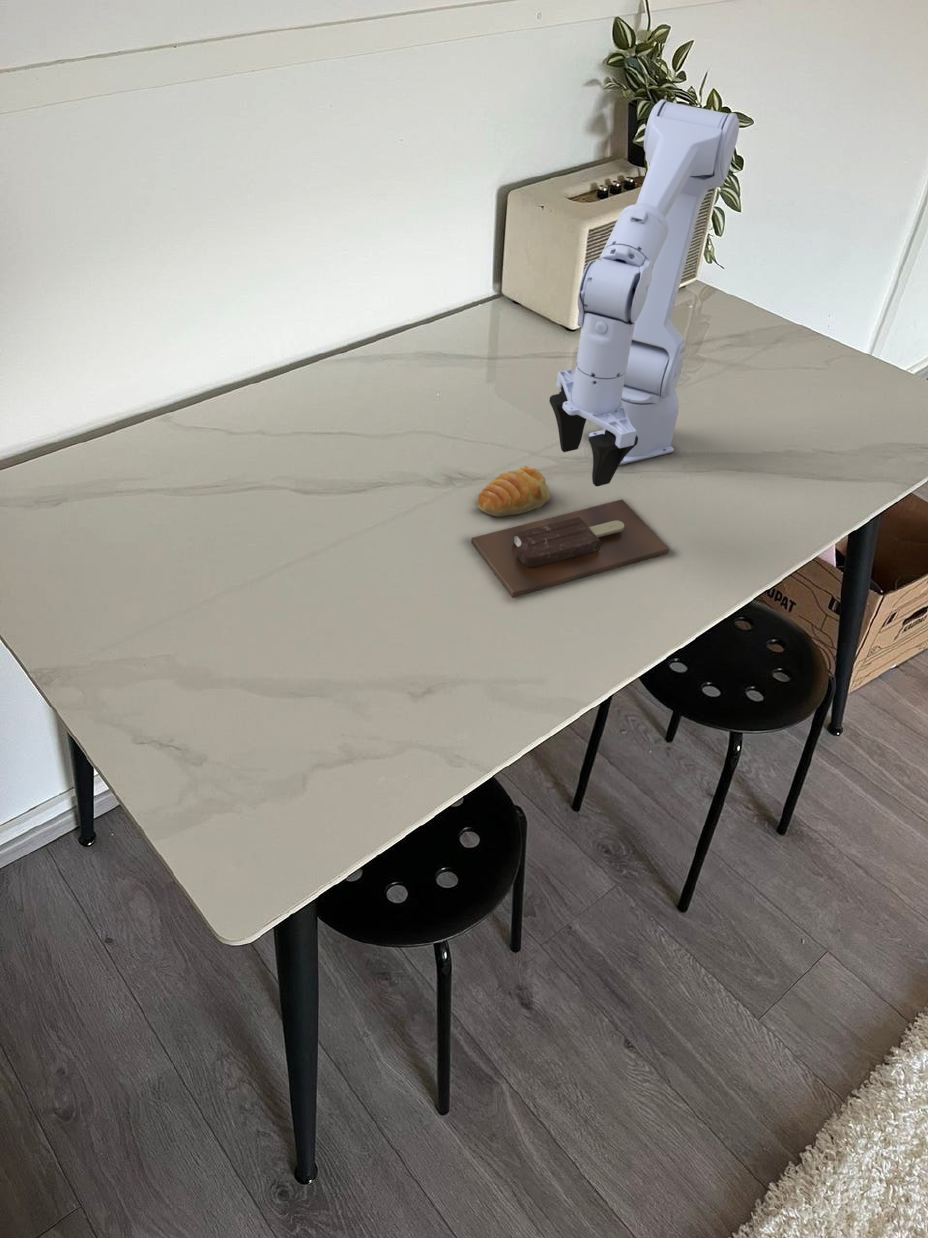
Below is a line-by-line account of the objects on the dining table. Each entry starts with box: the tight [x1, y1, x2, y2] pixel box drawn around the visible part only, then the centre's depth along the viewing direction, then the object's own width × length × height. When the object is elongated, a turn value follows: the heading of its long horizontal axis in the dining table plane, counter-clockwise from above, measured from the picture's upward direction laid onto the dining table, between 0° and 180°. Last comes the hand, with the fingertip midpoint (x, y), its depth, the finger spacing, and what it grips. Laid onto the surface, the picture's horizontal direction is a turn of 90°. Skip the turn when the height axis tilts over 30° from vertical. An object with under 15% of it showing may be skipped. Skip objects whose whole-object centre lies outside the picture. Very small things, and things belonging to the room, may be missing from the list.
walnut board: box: [470, 499, 670, 598], centre depth 128 cm, size 22×11×1 cm, turn 116°
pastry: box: [477, 465, 551, 518], centre depth 133 cm, size 9×7×4 cm
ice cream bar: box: [513, 517, 624, 568], centre depth 127 cm, size 5×2×15 cm
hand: (585, 466), depth 126 cm, fingers open, 7 cm apart
